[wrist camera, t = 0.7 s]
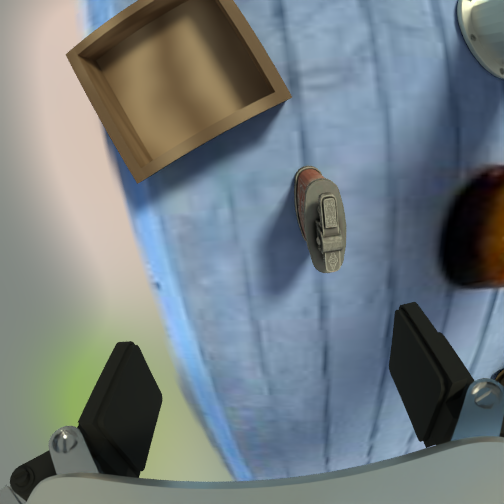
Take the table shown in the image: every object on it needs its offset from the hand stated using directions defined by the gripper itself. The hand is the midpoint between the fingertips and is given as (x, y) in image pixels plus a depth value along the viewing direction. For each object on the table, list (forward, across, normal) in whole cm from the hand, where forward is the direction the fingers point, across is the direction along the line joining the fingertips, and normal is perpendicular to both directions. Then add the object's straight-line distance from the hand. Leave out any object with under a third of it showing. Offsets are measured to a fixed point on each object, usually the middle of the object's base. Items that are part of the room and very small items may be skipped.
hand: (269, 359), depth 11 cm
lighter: (+23, -5, +2) cm, 24 cm away
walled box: (+23, +5, -14) cm, 28 cm away
